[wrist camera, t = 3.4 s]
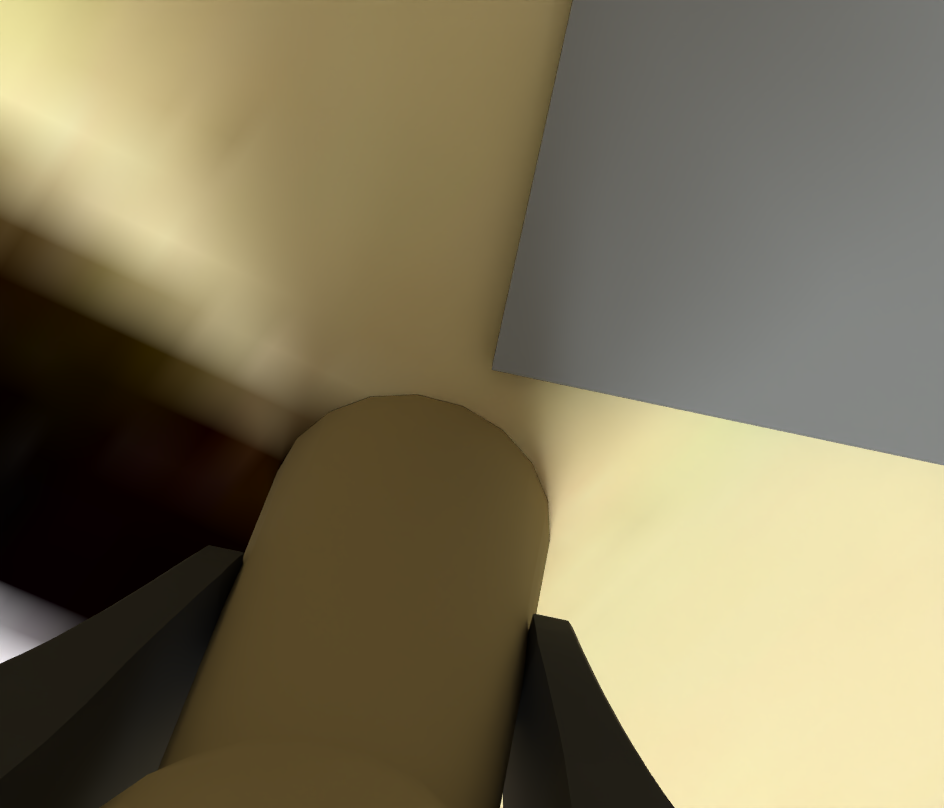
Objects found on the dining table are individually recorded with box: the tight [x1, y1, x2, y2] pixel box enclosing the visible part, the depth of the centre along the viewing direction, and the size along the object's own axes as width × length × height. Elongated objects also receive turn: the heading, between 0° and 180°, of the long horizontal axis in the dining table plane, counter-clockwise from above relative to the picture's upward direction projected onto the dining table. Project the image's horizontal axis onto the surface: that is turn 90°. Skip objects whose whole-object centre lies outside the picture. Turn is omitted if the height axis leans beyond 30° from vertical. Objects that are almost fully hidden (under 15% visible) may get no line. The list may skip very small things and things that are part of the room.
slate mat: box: [492, 0, 944, 465], centre depth 12 cm, size 12×12×1 cm
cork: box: [99, 395, 550, 808], centre depth 10 cm, size 6×6×11 cm
